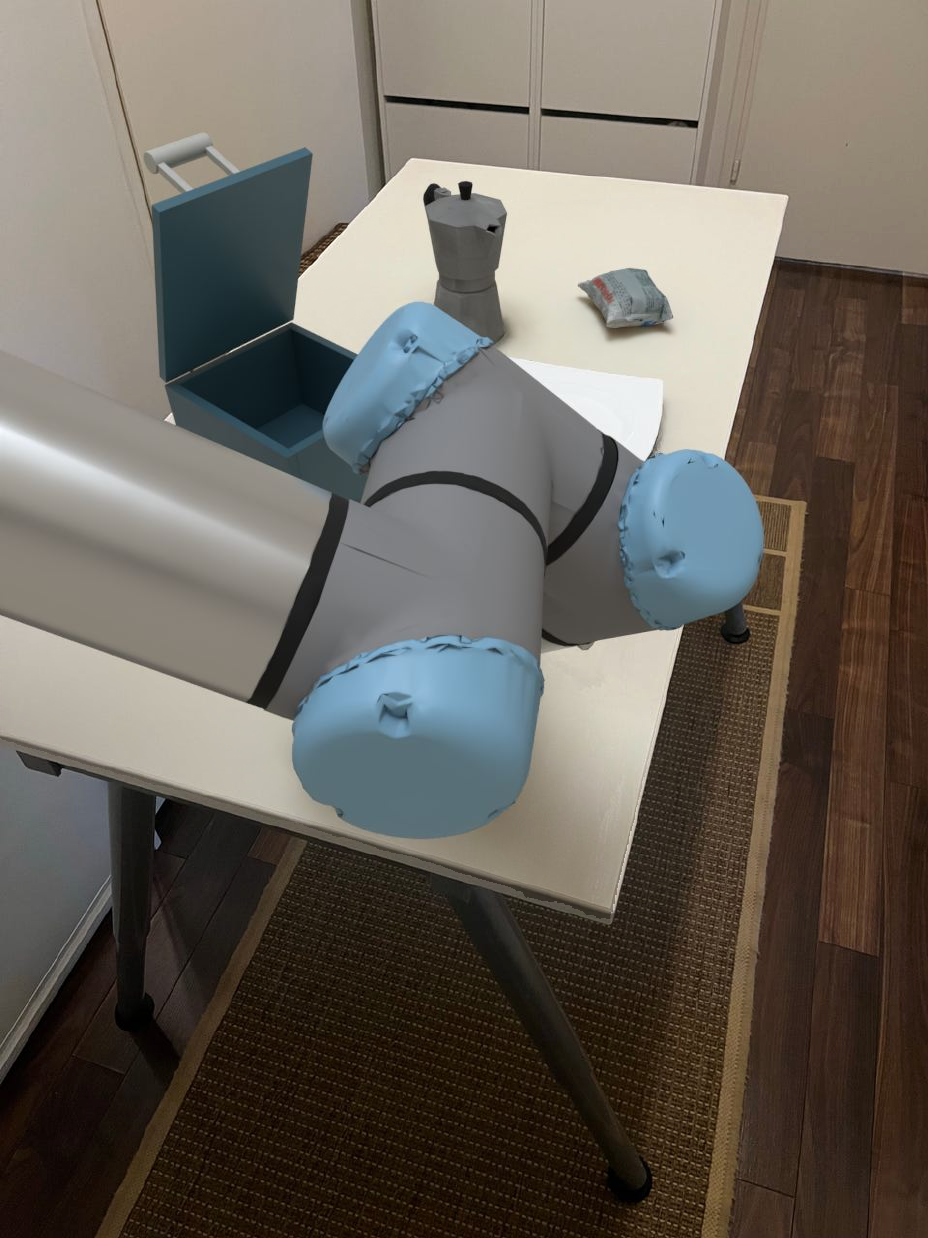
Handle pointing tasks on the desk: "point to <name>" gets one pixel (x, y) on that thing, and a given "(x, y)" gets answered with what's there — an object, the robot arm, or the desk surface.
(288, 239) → the lid
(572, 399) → the plate
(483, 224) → the coffeepot
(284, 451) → the chest
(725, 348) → the desk surface
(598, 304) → the packaged food
